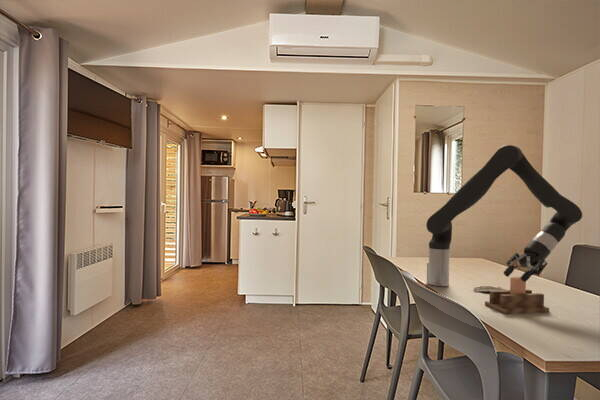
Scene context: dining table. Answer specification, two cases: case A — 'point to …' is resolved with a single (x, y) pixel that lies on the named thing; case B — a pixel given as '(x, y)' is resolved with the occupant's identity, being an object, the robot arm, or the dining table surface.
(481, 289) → the stone fragment
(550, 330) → the dining table surface
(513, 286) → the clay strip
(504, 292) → the walnut rack
